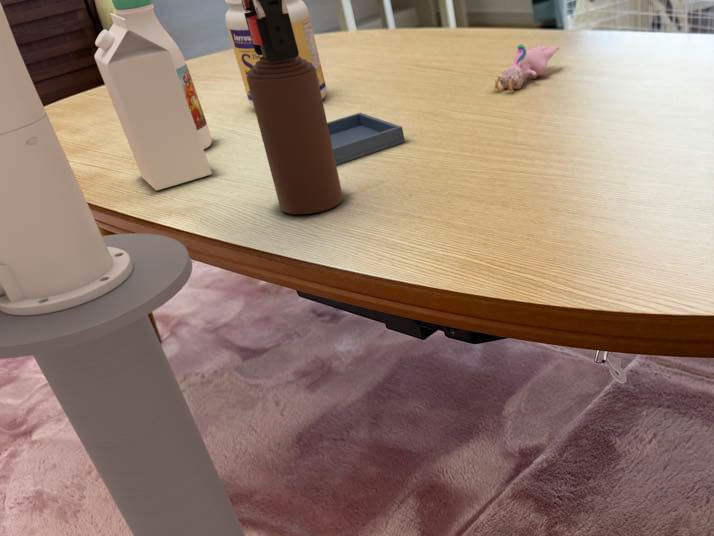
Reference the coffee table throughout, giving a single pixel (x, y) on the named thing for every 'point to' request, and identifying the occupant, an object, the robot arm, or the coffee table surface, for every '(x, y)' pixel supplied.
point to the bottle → (295, 134)
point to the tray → (361, 136)
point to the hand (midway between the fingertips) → (276, 53)
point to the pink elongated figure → (526, 66)
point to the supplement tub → (249, 57)
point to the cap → (254, 30)
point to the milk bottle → (141, 19)
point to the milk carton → (150, 106)
